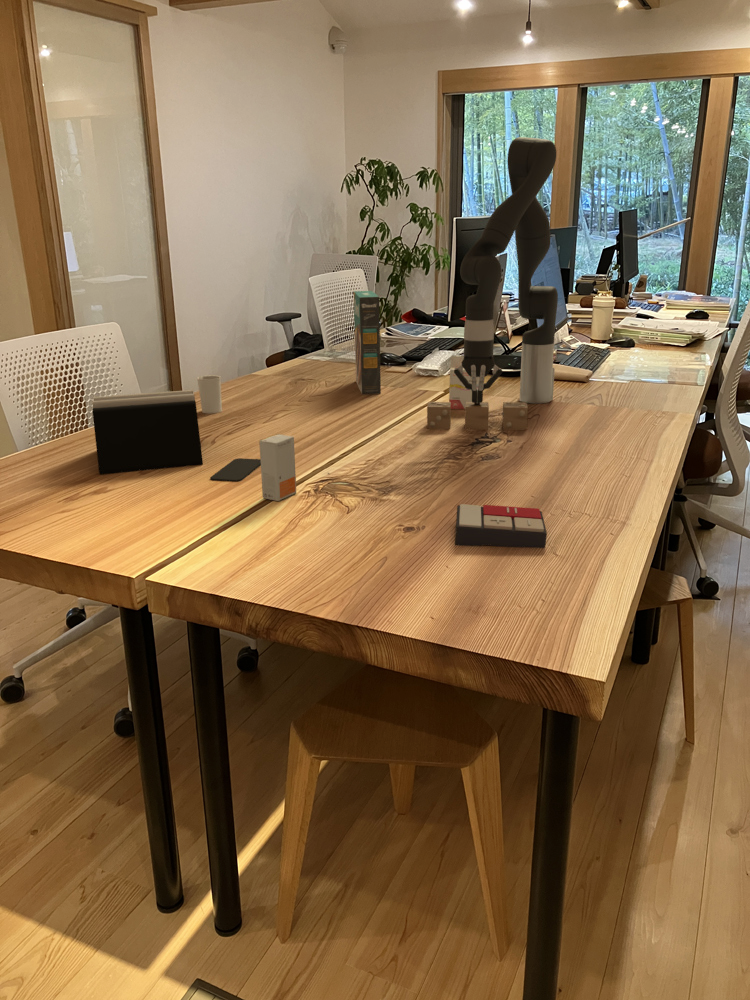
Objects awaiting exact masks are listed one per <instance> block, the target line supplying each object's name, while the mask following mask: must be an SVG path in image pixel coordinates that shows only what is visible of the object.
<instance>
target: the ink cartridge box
mask: <svg viewBox="0 0 750 1000" xmlns="http://www.w3.org/2000/svg"><path fill="white" fill-rule="evenodd" d="M463 358H464V355H457V356H456V355H455V356H454V355H452V356H451V357H450V368H449V385H448V386H449V390H448V392H449V394H448V396H449V397H448V402H451V410H465V406H466V402H472V390H471V389H468V388H466V387H465V386H464V385H463V383H462V382H461V381H460V380H459V378H458V377H457V376H456V374H455V373H454V369H455V368H458V367H459V366H460V365H462V361H463ZM463 371H464V373H463V375H464V377H465V378H466V379H467V380H468V382H469V383H471V384H472V378H471V377H470V376H469V375H468V373H467V372H466V371H465V369H464V368H463ZM476 383H477V392H478V386H479V377H476Z"/></svg>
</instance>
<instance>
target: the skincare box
mask: <svg viewBox="0 0 750 1000" xmlns="http://www.w3.org/2000/svg"><path fill="white" fill-rule="evenodd" d="M295 452H296V451H295V437H294V436H293V435H287V434H286V435H285V434H279V433H278V434H276V435H272V436H269V437H267V438H265V439H261V440H259V457H260V460H261V466H260V472H261V473H260V474H261V492H262V494H261V495H262V499H266V500H271V501H276V502H280V501H283V500H284V499H287V498H288V497H290V496H293V495H295V494H297V481H296V480H297V477H296V475H297V474H296V473H297V472H296V456H295V455H296V453H295Z"/></svg>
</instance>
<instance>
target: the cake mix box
mask: <svg viewBox="0 0 750 1000" xmlns="http://www.w3.org/2000/svg"><path fill="white" fill-rule="evenodd" d="M353 314H354V316H353V318H354V319H353V320H354V324H353V326H354V355H355V356H354V357H355V362H354V363H355V383H356V385H357V387H358V389H359V391H360V394H361V395H381V394H382V393H381V392H382V390H381V389H382V387H381V385H382V383H381V381H382V380H381V330H380V328H381V327H380V323H381V322H380V321H381V320H380V296H379V295H378V294H376V292H374V291H372V290H365V291H364V290H363V291H362V290H361V291H360V290H358V291H355V290H354V291H353Z"/></svg>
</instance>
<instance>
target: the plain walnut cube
mask: <svg viewBox="0 0 750 1000" xmlns="http://www.w3.org/2000/svg"><path fill="white" fill-rule="evenodd" d="M489 409H490V405H489V402H488V401H485V402H484V401H482V403H480V405H474V403H472V402H466V406H465V409H464V411H465V412H464V413H465V415H464V419H465V420H464V422H465V423H464V429H465V430H481V431H482V430H489V413H490V410H489Z"/></svg>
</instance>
